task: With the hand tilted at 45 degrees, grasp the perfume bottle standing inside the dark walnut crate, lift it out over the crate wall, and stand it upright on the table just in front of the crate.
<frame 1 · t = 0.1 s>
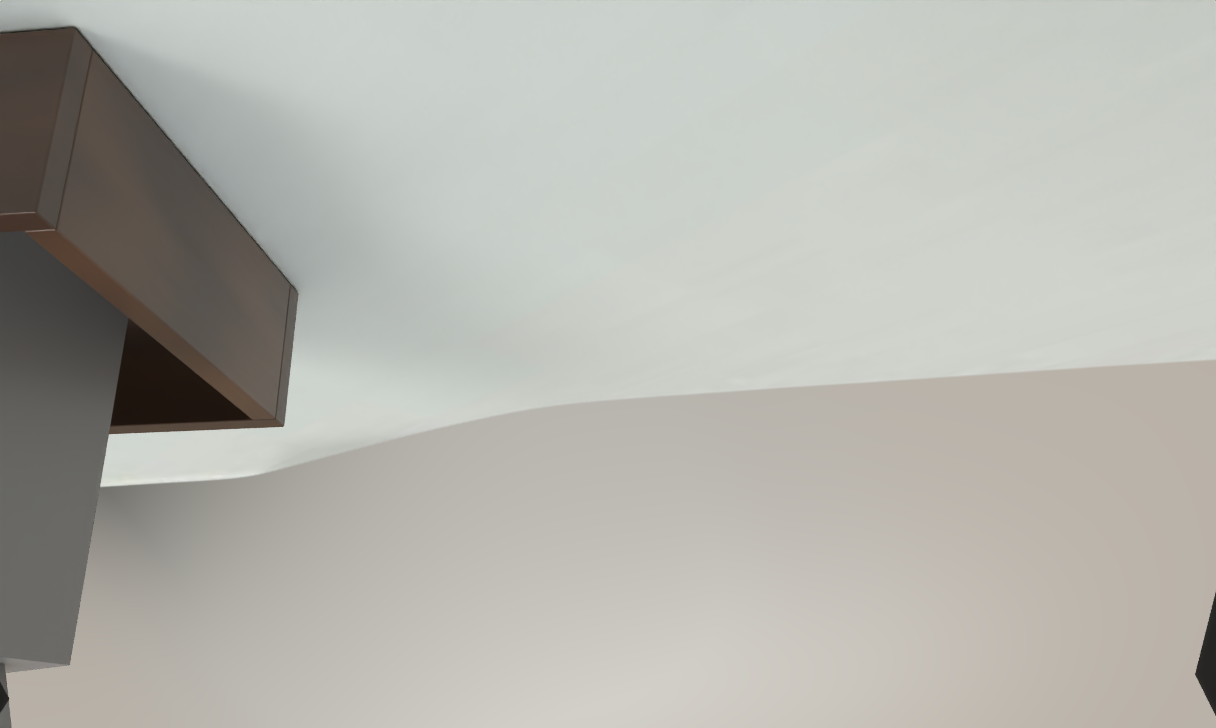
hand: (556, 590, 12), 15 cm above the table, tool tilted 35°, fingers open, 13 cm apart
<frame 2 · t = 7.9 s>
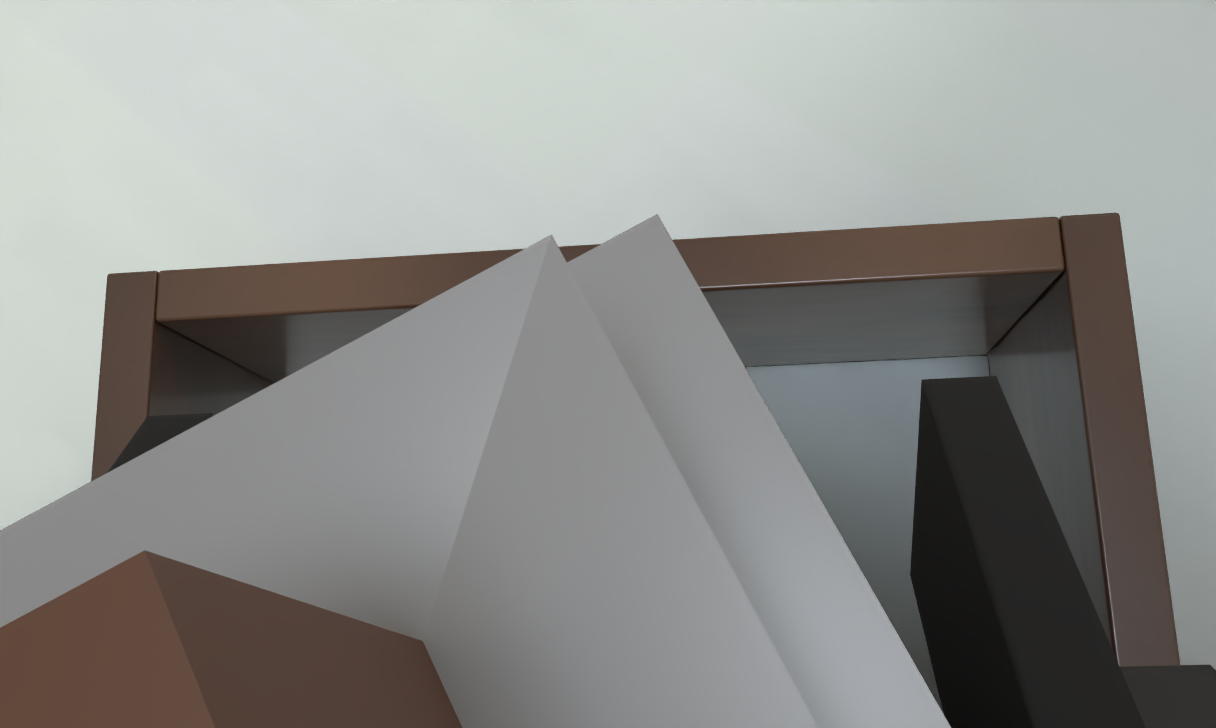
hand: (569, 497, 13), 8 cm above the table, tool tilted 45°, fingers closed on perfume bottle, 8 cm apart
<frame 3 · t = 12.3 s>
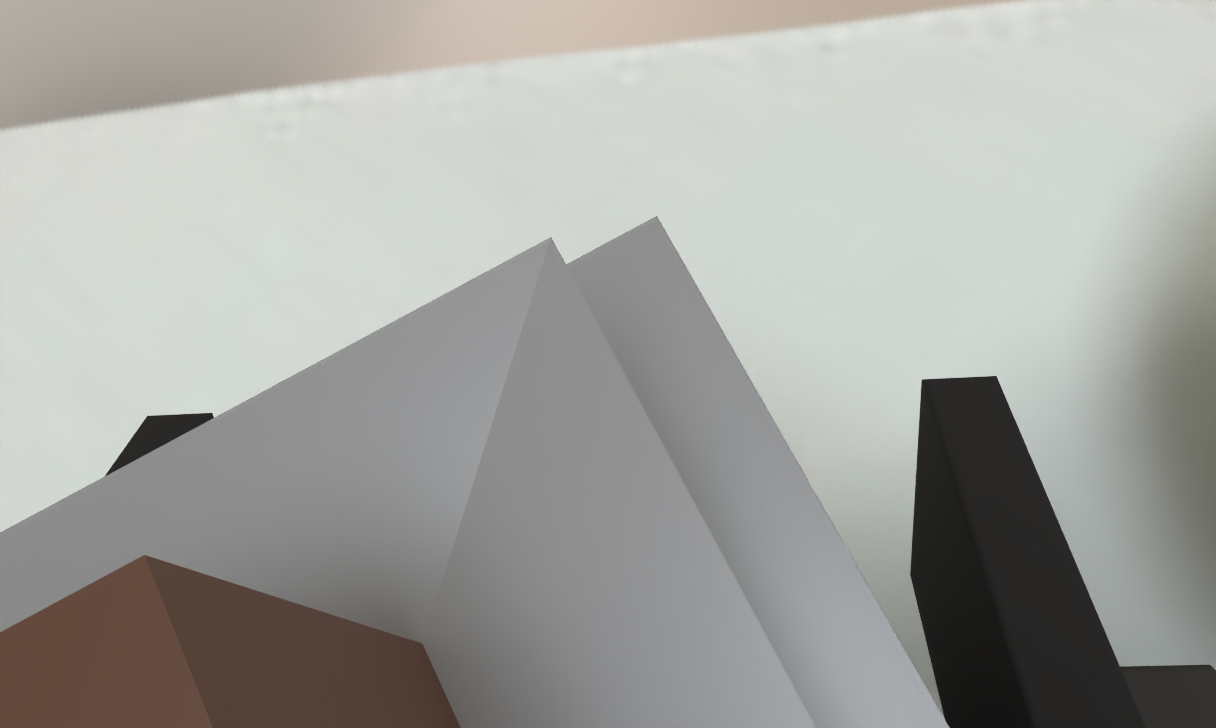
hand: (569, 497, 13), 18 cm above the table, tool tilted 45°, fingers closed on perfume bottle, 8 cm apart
when the fingers open (8 cm above the table, at t = 17.1 s): perfume bottle stays where it is, on the table.
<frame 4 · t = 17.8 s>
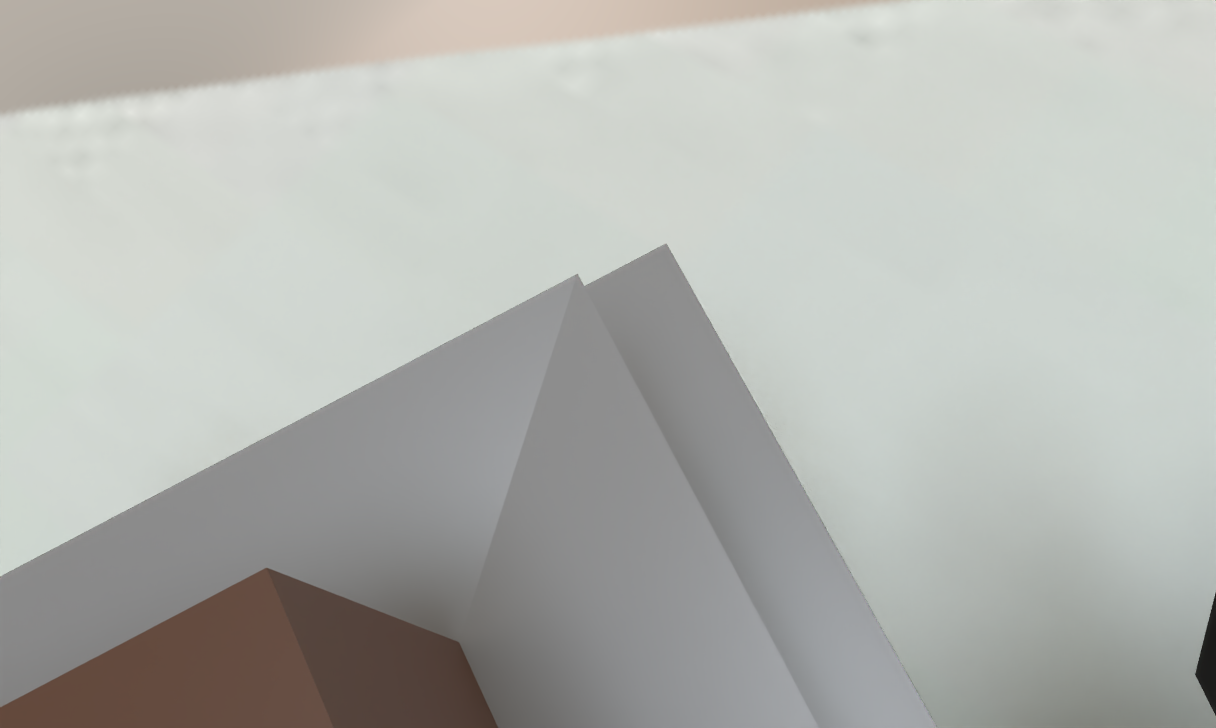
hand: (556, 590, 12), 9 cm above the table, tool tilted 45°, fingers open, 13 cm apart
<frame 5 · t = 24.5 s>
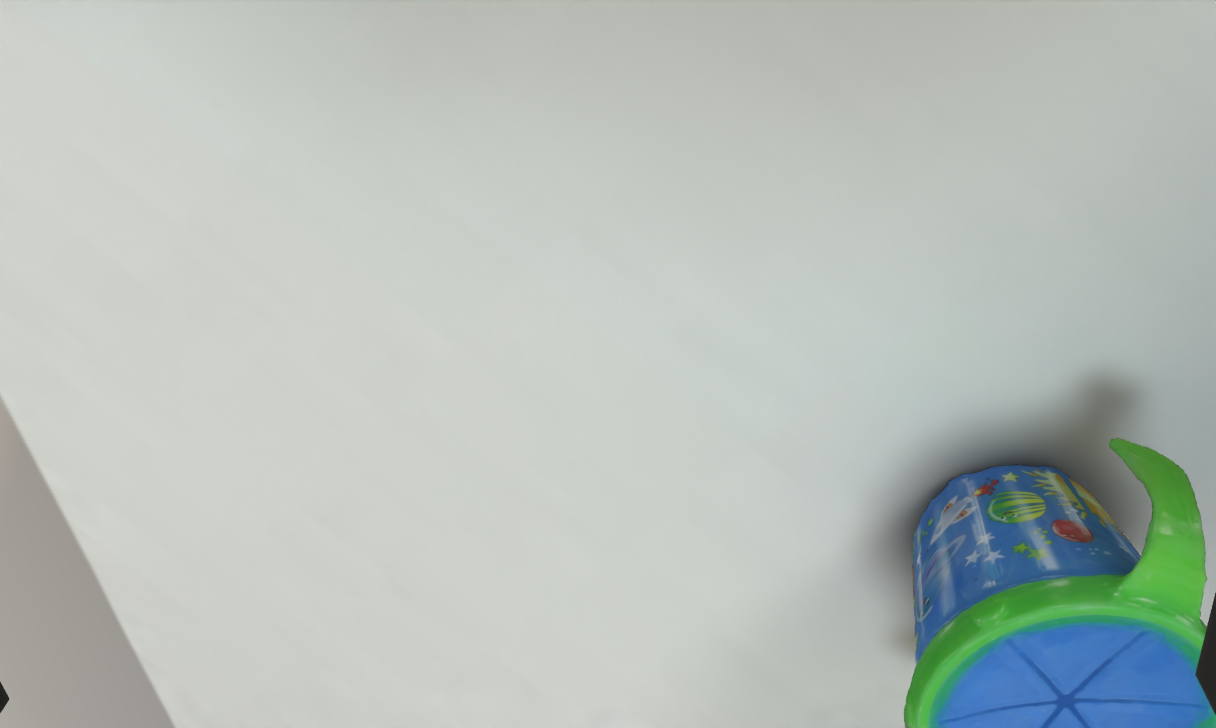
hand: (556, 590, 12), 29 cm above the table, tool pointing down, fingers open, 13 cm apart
sippy cup: (1002, 523, 47), on the table
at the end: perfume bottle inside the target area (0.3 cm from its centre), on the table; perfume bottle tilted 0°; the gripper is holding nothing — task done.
